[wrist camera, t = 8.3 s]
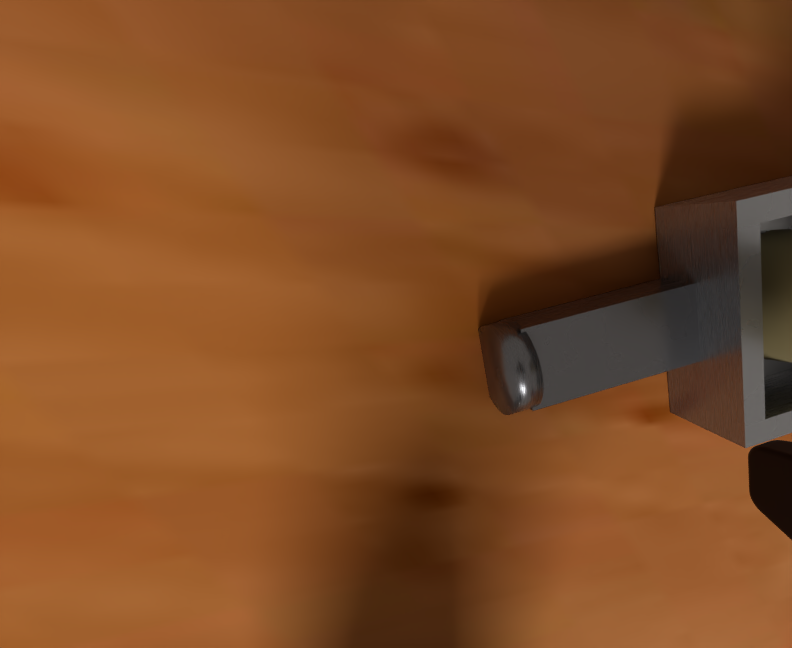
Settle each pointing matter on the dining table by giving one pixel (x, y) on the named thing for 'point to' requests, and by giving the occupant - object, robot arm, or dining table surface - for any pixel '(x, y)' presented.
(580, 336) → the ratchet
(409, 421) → the dining table surface
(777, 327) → the cork
